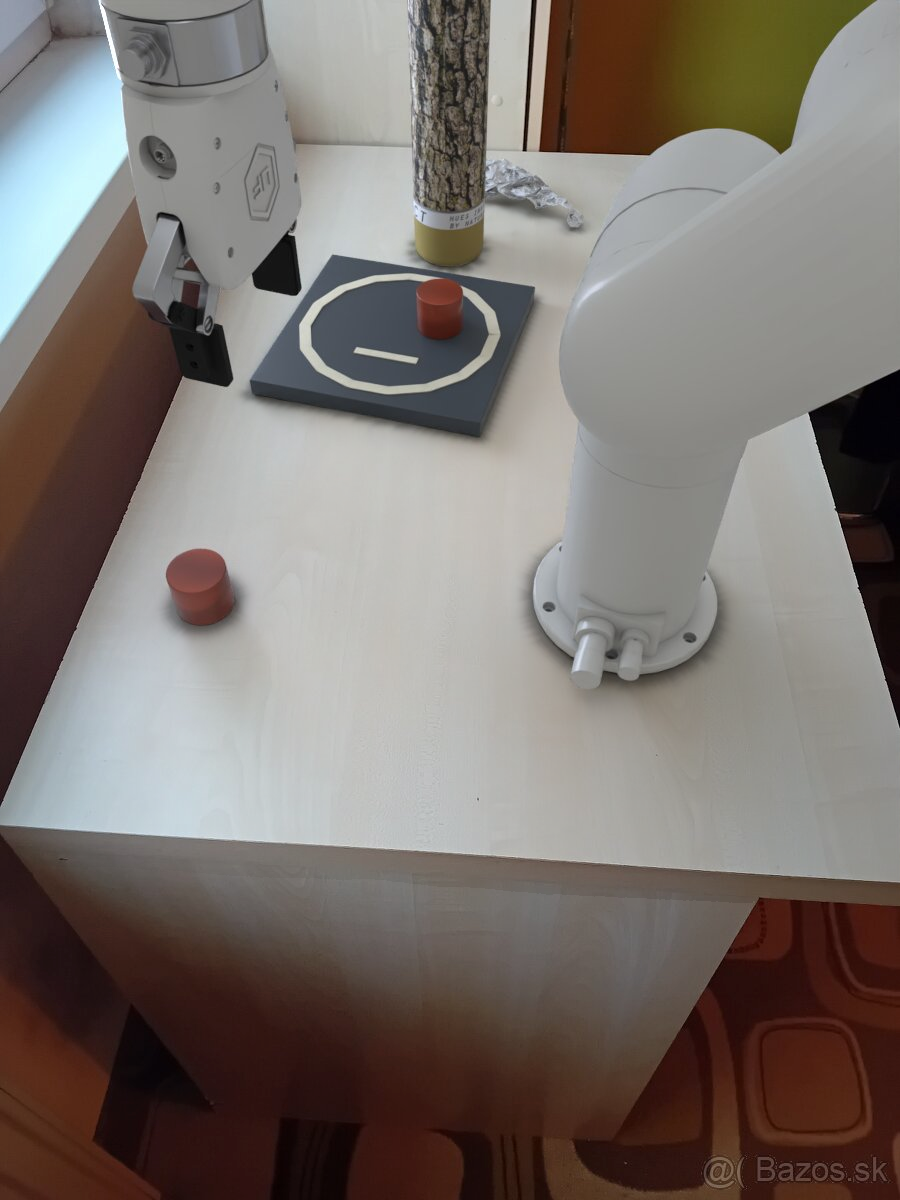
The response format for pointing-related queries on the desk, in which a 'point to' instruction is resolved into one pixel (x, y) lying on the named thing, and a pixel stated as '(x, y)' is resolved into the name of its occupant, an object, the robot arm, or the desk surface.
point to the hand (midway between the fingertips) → (244, 332)
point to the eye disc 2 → (439, 308)
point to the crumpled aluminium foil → (524, 188)
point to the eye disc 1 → (200, 586)
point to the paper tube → (449, 126)
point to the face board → (394, 347)
